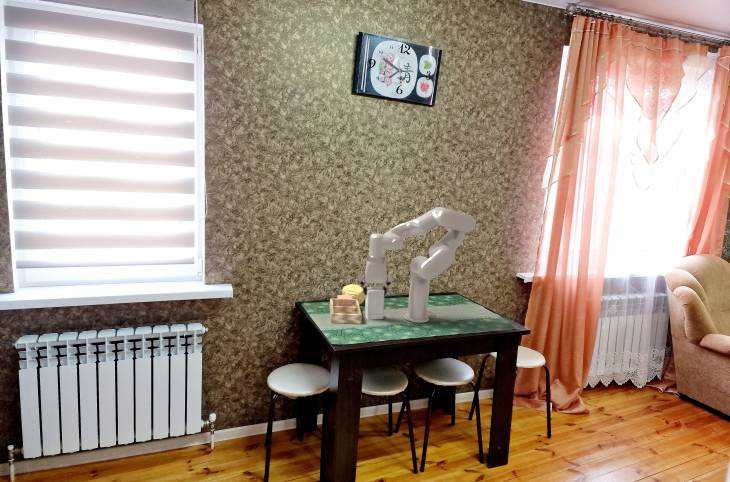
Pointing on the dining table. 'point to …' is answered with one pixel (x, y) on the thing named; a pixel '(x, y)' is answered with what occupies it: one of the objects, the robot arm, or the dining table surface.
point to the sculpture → (354, 292)
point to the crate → (345, 312)
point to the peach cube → (344, 300)
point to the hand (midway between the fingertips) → (374, 294)
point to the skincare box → (374, 303)
